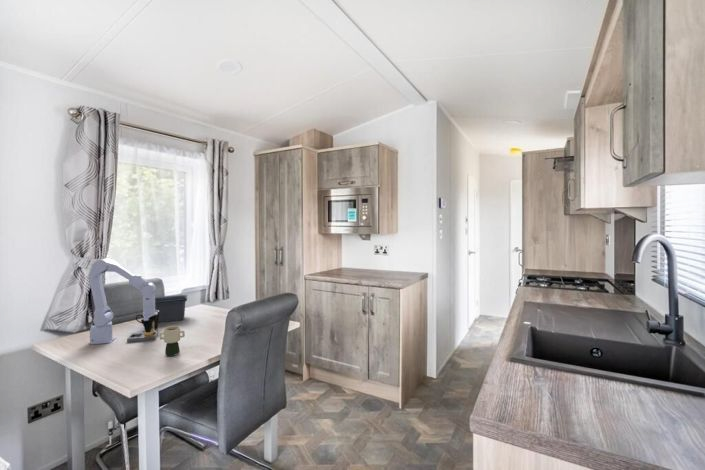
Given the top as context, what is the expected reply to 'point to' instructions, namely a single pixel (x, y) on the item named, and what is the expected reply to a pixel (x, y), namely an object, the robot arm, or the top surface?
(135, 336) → the socket
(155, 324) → the coffee mug
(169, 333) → the beige trophy cup
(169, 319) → the storage bin
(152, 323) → the brass peg
